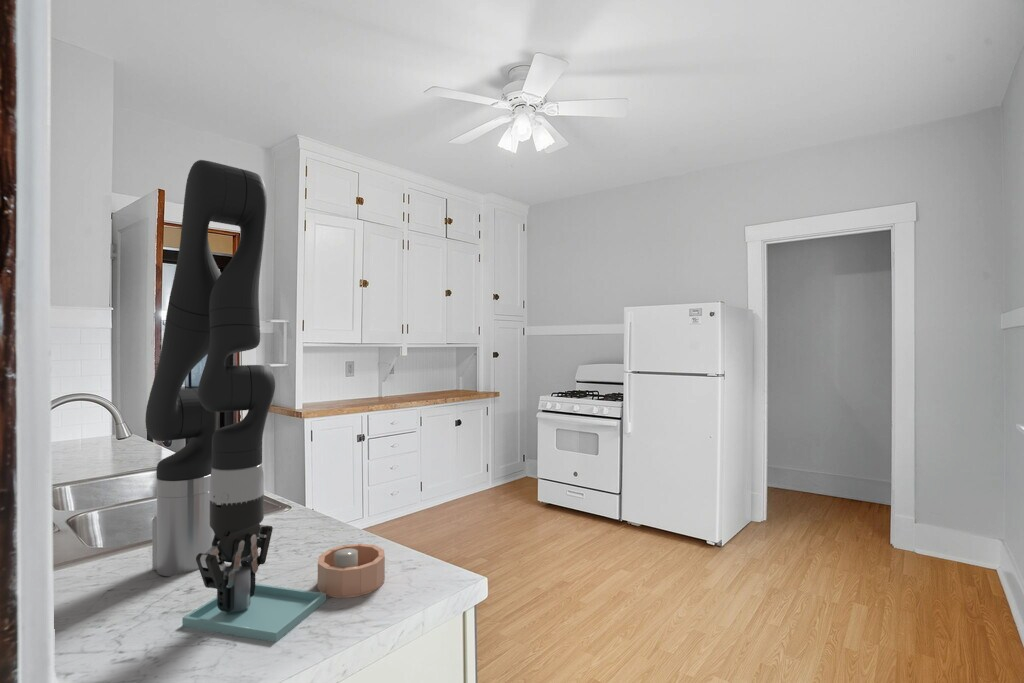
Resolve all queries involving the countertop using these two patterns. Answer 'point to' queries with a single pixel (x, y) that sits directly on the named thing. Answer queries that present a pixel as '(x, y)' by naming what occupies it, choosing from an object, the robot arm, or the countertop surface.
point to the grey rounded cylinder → (241, 588)
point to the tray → (259, 613)
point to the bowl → (352, 572)
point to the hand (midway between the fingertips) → (236, 602)
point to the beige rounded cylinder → (346, 558)
